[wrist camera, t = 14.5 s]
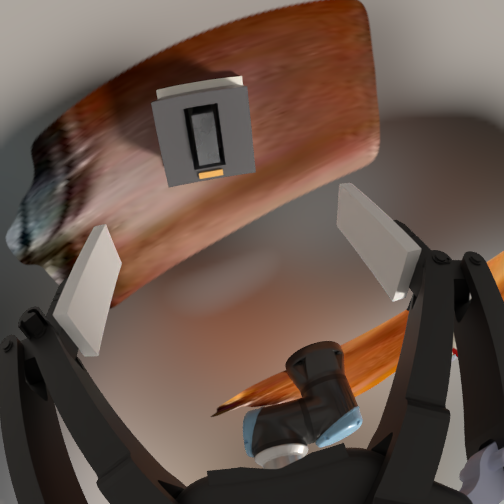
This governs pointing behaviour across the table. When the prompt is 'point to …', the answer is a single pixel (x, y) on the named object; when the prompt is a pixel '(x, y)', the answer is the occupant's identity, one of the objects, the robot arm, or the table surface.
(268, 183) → the table surface
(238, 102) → the gray slotted block
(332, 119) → the table surface
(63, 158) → the table surface
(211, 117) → the shaft stand
